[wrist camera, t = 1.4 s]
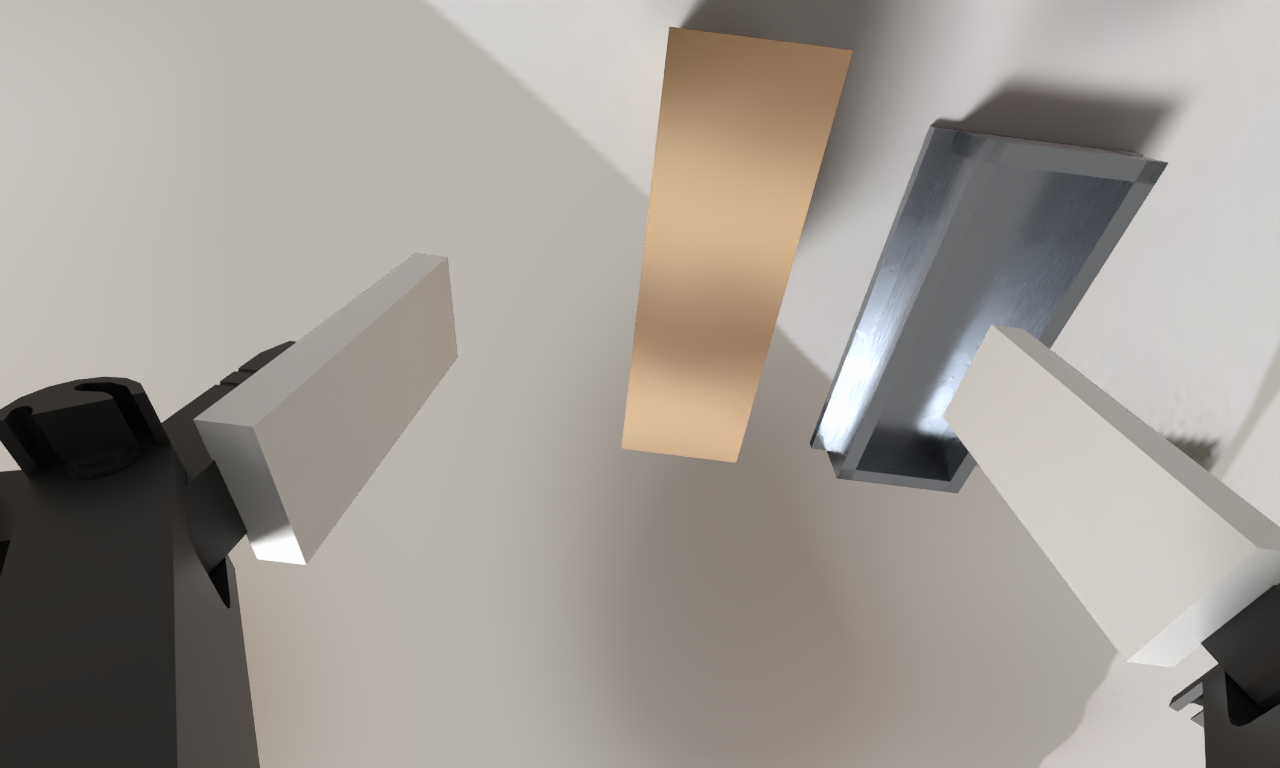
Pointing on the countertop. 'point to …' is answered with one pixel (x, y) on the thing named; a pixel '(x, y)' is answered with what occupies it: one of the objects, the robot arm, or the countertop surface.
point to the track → (969, 289)
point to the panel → (723, 230)
